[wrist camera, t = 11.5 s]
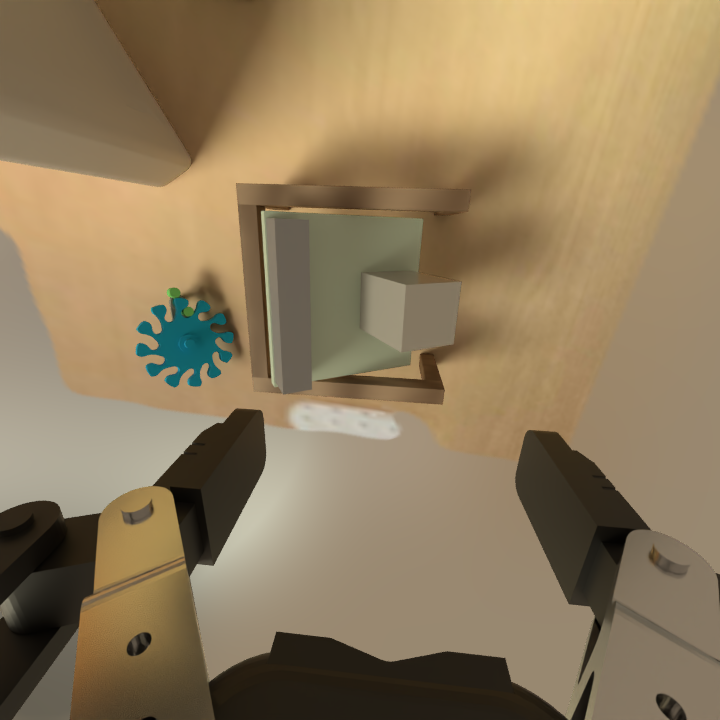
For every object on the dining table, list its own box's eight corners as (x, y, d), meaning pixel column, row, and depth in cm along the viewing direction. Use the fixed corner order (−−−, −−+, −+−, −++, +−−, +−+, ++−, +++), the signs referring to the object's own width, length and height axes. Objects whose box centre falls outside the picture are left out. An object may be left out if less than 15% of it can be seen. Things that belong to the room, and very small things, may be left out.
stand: (282, 357, 43) (253, 391, 34) (274, 193, 36) (236, 183, 27) (431, 366, 41) (442, 404, 33) (451, 199, 35) (471, 189, 26)
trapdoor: (271, 382, 31) (282, 400, 28) (260, 211, 26) (272, 210, 23) (404, 361, 37) (425, 374, 34) (416, 218, 32) (442, 218, 29)
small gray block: (361, 272, 30) (406, 284, 24) (409, 270, 32) (461, 281, 26) (359, 328, 32) (401, 352, 26) (405, 322, 34) (453, 344, 28)
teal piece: (241, 378, 42) (146, 399, 36) (224, 370, 47) (137, 388, 41) (228, 284, 40) (124, 290, 34) (212, 286, 44) (118, 291, 38)
